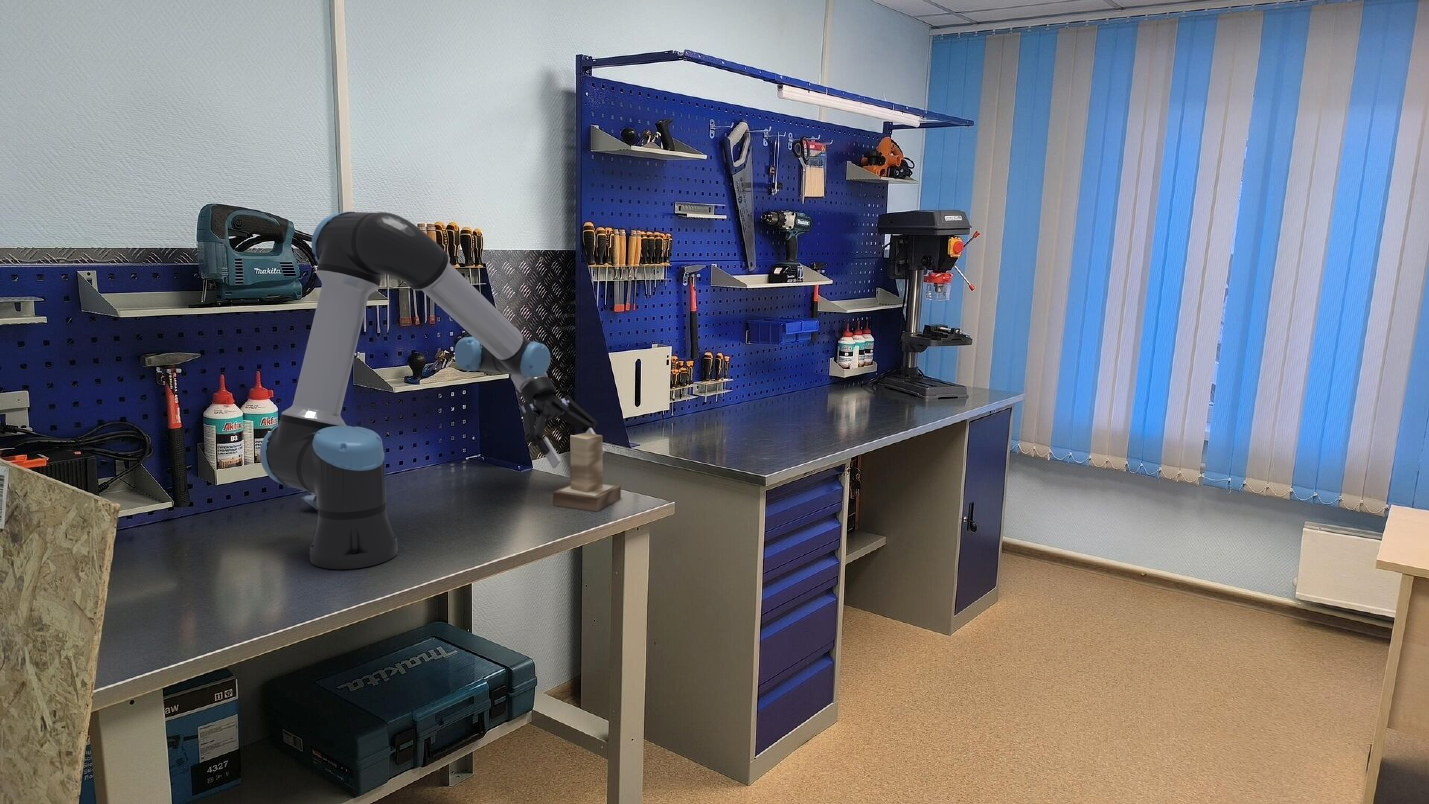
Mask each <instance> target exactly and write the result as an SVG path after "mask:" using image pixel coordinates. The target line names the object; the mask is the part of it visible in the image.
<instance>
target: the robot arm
mask: <svg viewBox="0 0 1429 804" xmlns="http://www.w3.org/2000/svg"><path fill="white" fill-rule="evenodd" d="M311 237H312V238H311V251H312V253H313V255H314V259H315V261H316V262H317V268H316V271H315V273H316V275H317V277H318V279H319V281H320V282H321V288H320V291H319V296H318V300H317V304H316V308H315V311H314V316H313V321H312V325H311V329H310V332H309V337H308V340H307V345H306V348H305V351H304V352H305V353H304V358H303V360H302V361H303V362H302V365H301V370H300V373H299V376H298V377H299V378H298V380H297V381H298V382H297V386H296V389H295V393H294V397H293V402H292V405H291V406H290V407H289V408H286V409H285V410H284V411H282V412H281V415H280V418H279V422H278V425H276V426H274V427H273V428H272V429H271V430H270V431H268V432H267V433H266V435H264V437H263V439H262V441H261V444H260V449H259V457H260V458H259V459H260V463H261V467H262V468H263V470H264V472H265V473H266V474H267V476H268V477H269V478H270V479H272V480H273V481H274V482H277V483H279V484H281V485H282V486H284V487H286V488H290V489H296V490H297V489H298V490H300V491H304V492H308V493H310V494H311V493H315V494H317V507H318V511H317V521H316V525H315V528H314V532H313V537H312V542H311V544H310V546H309V561H310V563H311V564H312V565H313V566H316V567H318V568H322V569H329V570H353V569H361V568H368V567H372V566H376V565H379V564H382V563H385V562H388V561H390V560H391V559H393V558H394V557H396V556H397V554H398V548H399V547H398V538H397V537H396V535H395V534H394V532H393V528H392V524H391V522H390V519H389V517H388V515H387V507H386V506H387V505H386V504H387V503H386V483H385V482H386V481H385V480H386V479H385V476H386V475H385V457H386V456H385V452H384V447H383V446H384V445H383V440H382V437H381V436H380V435H379V434H378V433H377V432H375V431H374V430H372V429H369V428H365V427H361V426H351V425H347V424H346V423H345V420H344V419H343V418H342V415H341V412H342V409H343V405H344V401H345V396H346V393H347V387H348V383H349V379H350V375H351V371H352V367H353V363H354V359H355V354H356V350H357V346H358V342H359V338H360V333H361V329H362V325H363V321H364V317H365V313H366V308H367V304H368V300H369V297H370V295H371V294H373V293H374V292H376V291H378V290H379V289H380V286H381V281H382V277H383V276H384V275H385V276H388V277H389V276H390V277H392V278H395V279H397V280H400V281H402V282H403V283H404V284H406V285H407V286H408V287H409V288H411V290H414V291H422V292H423V293H424V294H425V295H427V297H428V298H429V299H431V300H432V301H433V302H434V303H435V304H436V305H437V306H438V307H440V308H441V309H442V310H443V311H444V312H445V313H446V314H447V315H449V317H451V318H452V319H453V320H454V321H455V323H457V324H459V326H460V327H462V328H463V329H464V330H465V331H466V332H467V333H468V334H469V335H470V336H468V337H467V336H466V337H462V338H461V339H459V340H458V341H457V343H456V344H455V347H454V360H455V362H456V365H457V366H458V367H459V368H460V369H461V370H463V371H471V372H477V371H485V372H491V373H498V374H499V373H500V374H507V375H508V376H509V377H510V379H511V381H512V382H513V384H514V386H515V387H516V389H517V390H518V392H519V393H520V396H521V397H522V399H523V401H524V403H523V404H522V405H521V407H520V408H519V411H520V413H521V416H522V420H523V430H524V441H525V442H526V443H527V444H530V443H531V445H532V446H533V447H537V448H538V450H539V451H540V453H541V455H543V456H545V458H546V459H547V461H548V463H549V465H550V467H551V468H552V469H556V468H557V467H558V465H559V464H560V463H561V462H562V459H561V458H560V456H559V455H558V453H557V452H556V451H557V450H556V449H555V448H554V446H553V444H552V443H551V441H550V440H549V438H548V437H547V436H546V437H544V433H545V427H546V422H547V421H551V420H560V421H565V422H566V423H568V424H570V425H571V426H573V427H575V428H577V429H578V430H580V431H581V432H583V433H591V434H596V435H598V433H597V432H596V430H595V427H597V425H598V424H599V422H598V420H596V419H595V418H593V417H592V415H590V414H589V413H588V412H586V411H585V410H584V409H583V408H582V407H580V405H579V404H577V403H576V402H575V401H574V400H573V399H572V397H571V396H570V395H569V394H566V395H565V396H564V397H563V398H561V397H559V396H558V395H557V389H556V387H555V385H554V383H553V382H552V380H551V379H550V377H548V373H547V372H548V370H549V367H550V365H551V352H550V351H549V348H548V346H546V345H545V344H544V343H541V342H537V341H534V340H533V341H531V340H529V339H528V338H527V337H526V336H525V335H524V334H522V332H521V331H520V330H519V328H517V327H515V326H514V325H513V324H512V322H510V321H509V320H508V319H507V318H506V317H505V316H504V315H503V314H502V313H501V312H500V311H499V310H498V309H497V308H496V307H495V305H493V303H491V302H490V301H489V300H488V299H487V298H486V297H485V296H484V295H483V294H482V293H480V292H479V290H478V289H477V288H476V287H474V285H473V284H472V283H470V282H469V281H468V279H467V278H465V277H464V276H463V275H462V274H461V272H459V271H458V270H457V269H456V268H455V267H454V266H453V264H451V263H450V255H449V254H448V253H447V251H446V250H444V249H443V248H442V246H440V245H439V244H438V243H437V242H436V241H435V240H434V239H433V238H432V237H430V235H428V234H427V233H425V232H424V231H423V230H422V229H421V228H419V227H418V226H417V225H415V224H414V223H413V222H411V221H410V220H408V219H406V218H404V217H403V216H400V215H397V214H396V213H395V214H394V213H390V212H383V211H377V212H363V211H362V212H359V211H357V212H356V211H344V212H343V211H342V212H337V213H333V214H331V215H329V216H327V217H324V218H323V219H322V220H321V221H320V222H319V223H318V224H317V226H316V227H315V229H314V232H313V233H312V236H311ZM534 414H535V415H536V417H535V421H534ZM535 423H536V424H535ZM606 451H607V450H606V448H605V446H603V454H604V453H605V452H606Z"/></svg>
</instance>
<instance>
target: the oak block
mask: <svg viewBox="0 0 1429 804" xmlns="http://www.w3.org/2000/svg"><path fill="white" fill-rule="evenodd" d="M569 438H570V439H569V443H570V444H569V445H570V447H569V448H570V450H569V451H570V452H569V453H570V454H569V455H570V462H569V463H570V484H571V489H574V490H578V491H582V492H586V493H588V492H591V491H594V490H598V489H601V488H603V484H604V481H603V480H604V479H603V478H604V477H603V475H604V474H603V473H604V472H603V471H604V469H603V468H604V467H603V463H604V462H603V456H604V455H603V454H604V453H603V447H604V446H603V445H604V444H603V443H604V442H603V435H602V434H597V435H596V434H591V433H584V432H583V433H578V434H574V435H570V436H569Z"/></svg>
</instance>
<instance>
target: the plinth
mask: <svg viewBox="0 0 1429 804" xmlns="http://www.w3.org/2000/svg"><path fill="white" fill-rule="evenodd" d="M621 487H622V486H621V485H618V484H617V485H615V484H607V483H603V488H601V489H598V490H594V491H591V492H588V493H586V492H582V491H578V490H574V489H571V483H570V484H567V485H565V486H563V487H561V488H559V489H557V490H555V491H552V506H555V507H561V508H562V507H563V508H569V509H577V510H583V511H590V512H599V511H601V510H603V509H605V508H606V507H608V506H610V505H611V504H613V503H616V502H617V501H619V500H621V499H622V497H621V492H622V490H621V489H622V488H621Z"/></svg>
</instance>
